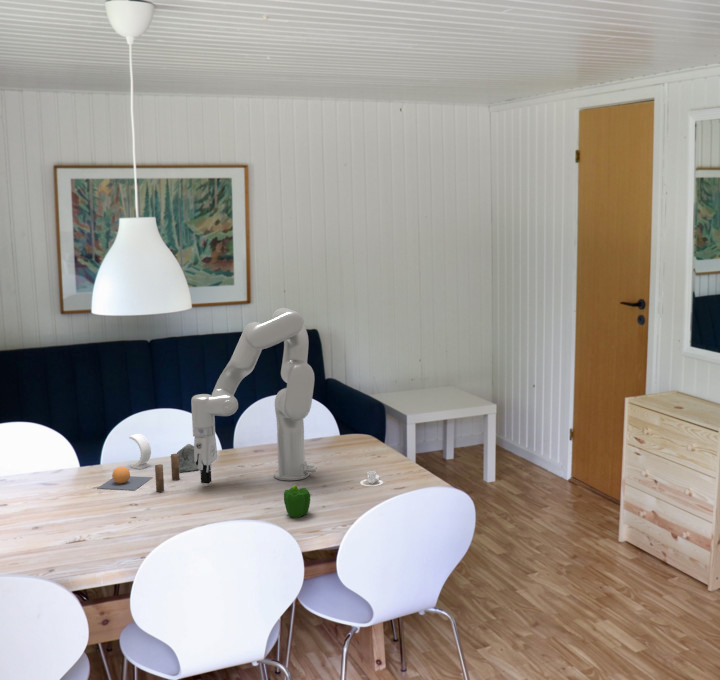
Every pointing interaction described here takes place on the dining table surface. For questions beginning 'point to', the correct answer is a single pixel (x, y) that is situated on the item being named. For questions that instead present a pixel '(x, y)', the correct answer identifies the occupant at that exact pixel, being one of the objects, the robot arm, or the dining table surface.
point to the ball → (121, 475)
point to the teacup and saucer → (372, 479)
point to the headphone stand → (142, 451)
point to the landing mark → (129, 485)
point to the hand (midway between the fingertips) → (206, 482)
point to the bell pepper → (297, 501)
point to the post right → (175, 466)
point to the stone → (187, 458)
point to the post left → (159, 478)
